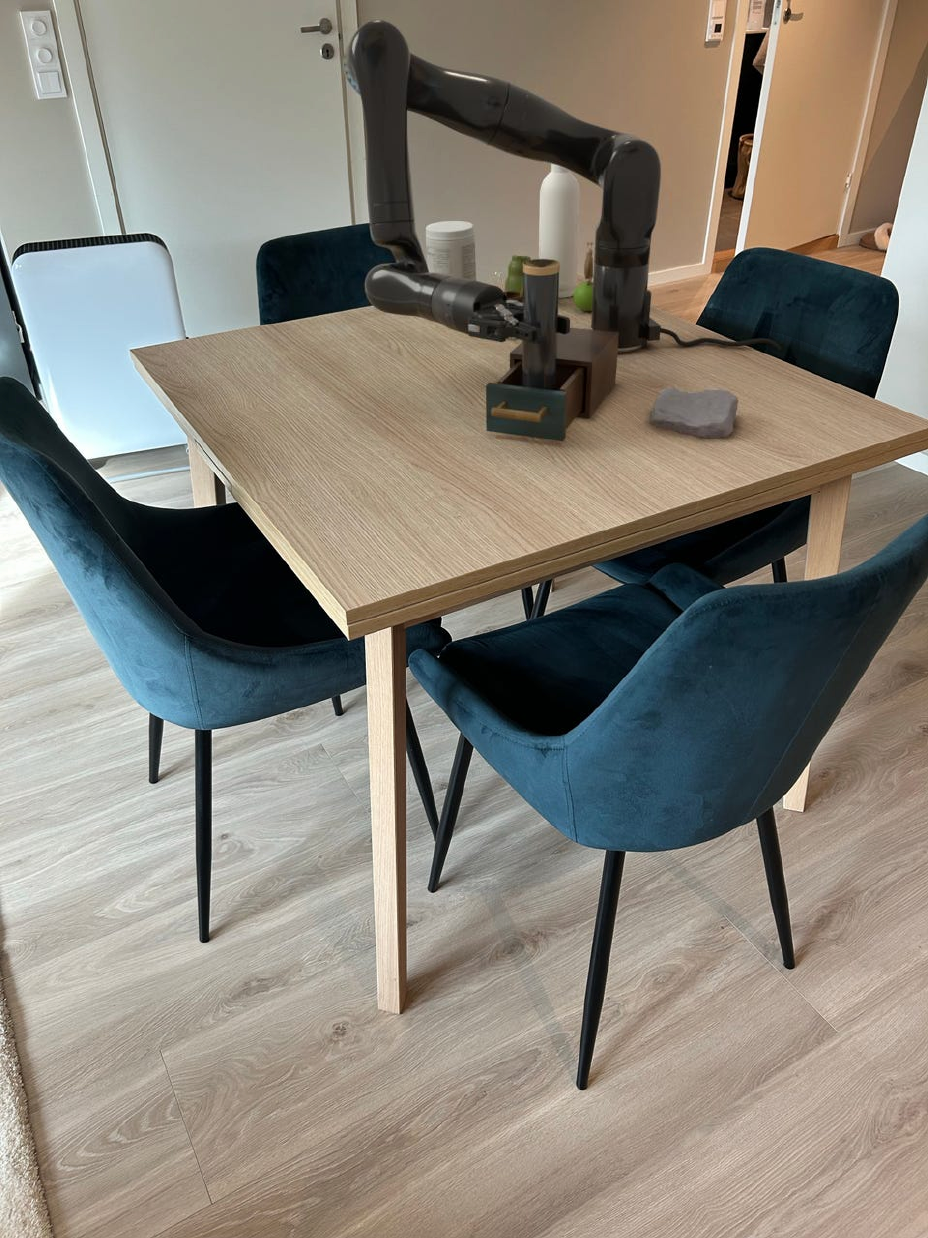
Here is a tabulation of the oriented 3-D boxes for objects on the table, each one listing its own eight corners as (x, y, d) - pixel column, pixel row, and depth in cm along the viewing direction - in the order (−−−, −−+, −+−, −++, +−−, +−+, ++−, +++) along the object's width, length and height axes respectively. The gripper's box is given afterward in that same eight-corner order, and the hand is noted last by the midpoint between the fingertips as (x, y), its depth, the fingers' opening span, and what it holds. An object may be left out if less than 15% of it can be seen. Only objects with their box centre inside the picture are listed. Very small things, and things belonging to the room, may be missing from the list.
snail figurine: (600, 305, 192) (604, 241, 185) (601, 314, 187) (604, 249, 180) (573, 304, 193) (575, 241, 186) (572, 314, 187) (575, 249, 181)
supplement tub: (467, 293, 201) (465, 218, 193) (483, 305, 194) (482, 227, 186) (422, 299, 199) (418, 223, 190) (437, 311, 191) (434, 232, 183)
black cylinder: (549, 405, 143) (553, 257, 132) (559, 417, 139) (564, 266, 128) (517, 408, 142) (518, 260, 131) (526, 421, 138) (528, 268, 127)
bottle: (551, 285, 205) (554, 127, 188) (583, 291, 201) (590, 129, 184) (530, 295, 199) (532, 132, 183) (563, 300, 195) (568, 134, 179)
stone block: (729, 451, 137) (738, 412, 143) (731, 422, 133) (740, 384, 140) (644, 445, 140) (657, 407, 147) (645, 416, 137) (658, 379, 144)
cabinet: (589, 419, 144) (592, 362, 139) (509, 408, 148) (509, 353, 143) (615, 385, 155) (618, 331, 150) (540, 377, 159) (541, 324, 154)
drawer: (554, 452, 132) (555, 404, 128) (476, 441, 136) (475, 394, 132) (590, 407, 145) (592, 362, 141) (518, 398, 149) (518, 354, 145)
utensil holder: (495, 328, 181) (495, 261, 175) (529, 328, 180) (530, 261, 174) (492, 338, 176) (491, 269, 170) (526, 338, 176) (527, 270, 169)
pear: (501, 309, 191) (501, 256, 186) (510, 301, 195) (510, 250, 190) (528, 311, 190) (528, 258, 184) (537, 304, 194) (537, 251, 188)
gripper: (431, 290, 137) (517, 314, 126) (504, 271, 145) (590, 292, 134) (433, 343, 141) (517, 371, 130) (504, 321, 149) (588, 345, 138)
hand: (553, 330), depth 132 cm, fingers open, 5 cm apart
